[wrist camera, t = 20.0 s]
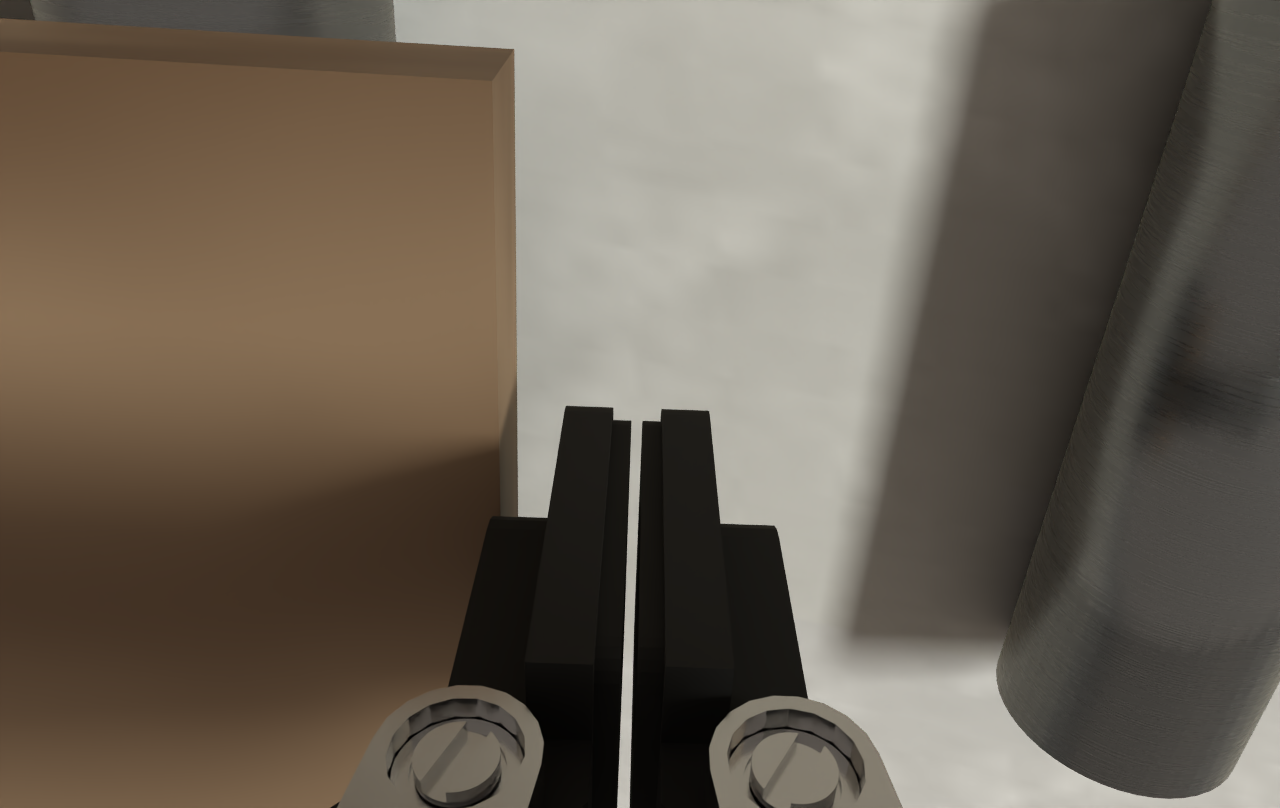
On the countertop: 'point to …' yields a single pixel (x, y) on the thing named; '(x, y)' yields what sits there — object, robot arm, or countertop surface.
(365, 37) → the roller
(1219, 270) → the cylinder
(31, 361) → the slab
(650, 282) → the countertop surface
